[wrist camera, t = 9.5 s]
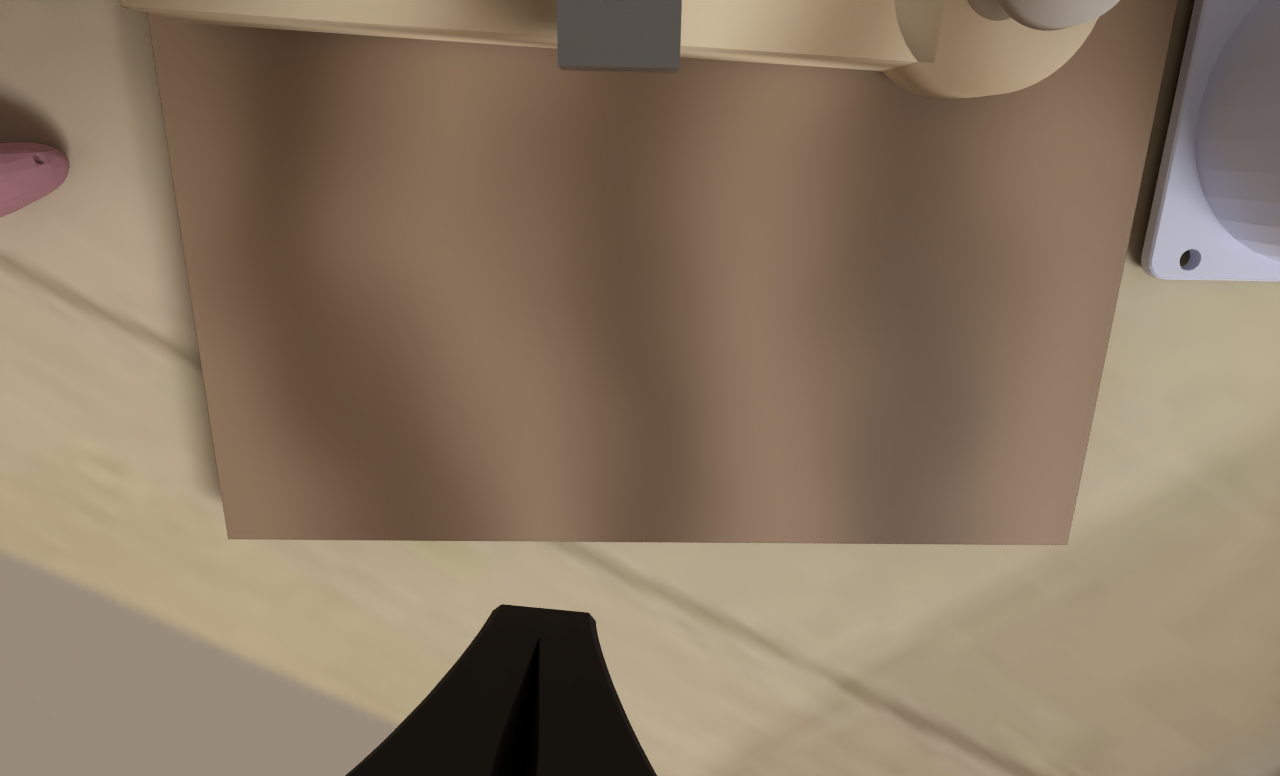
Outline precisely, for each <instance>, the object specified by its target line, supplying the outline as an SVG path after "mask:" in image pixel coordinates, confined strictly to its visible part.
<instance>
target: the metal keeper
mask: <svg viewBox="0 0 1280 776" xmlns="http://www.w3.org/2000/svg"><path fill="white" fill-rule="evenodd" d="M681 13H682V0H557V51H558V67H559V68H560V69H561V70H562V71H607V72H653V73H676V72H677V71H678V70H679V69H680V44H681Z"/></svg>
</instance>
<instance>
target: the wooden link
mask: <svg viewBox="0 0 1280 776" xmlns="http://www.w3.org/2000/svg"><path fill="white" fill-rule="evenodd" d="M1119 1H1120V0H682V13H681V44H680V57H685V58H700V59H714V60H728V61H743V62H757V63H772V64H786V65H800V66H815V67H829V68H844V69H858V70H873V71H882V72H883V73H884V74H885V75H886V76H887V77H888V78H889V79H890V80H891V81H892V82H893V83H894V84H896V85H897V86H899V87H900V88H902V89H904V90H905V91H907V92H910V93H912V94H914V95H917V96H920V97H924V98H928V99H935V100H954V99H963V98H972V97H981V96H990V95H998V94H1005V93H1011V92H1014V91H1018V90H1021V89H1024V88H1026V87H1029V86H1031V85H1033V84H1036V83H1038V82H1039V81H1041V80H1043V79H1045V78H1046V77H1048V76H1050V75H1051V74H1052V73H1054V72H1055V71H1056V70H1058V69H1059V68H1060V67H1061V66H1063V65H1064V64H1065V63H1066V62H1067V61H1068V60H1069V59H1070V58H1071V57H1072V56H1073V55H1074V54H1075V53H1076V51H1077V50H1078V49H1079V48H1080V47H1081V45H1082V44H1083V43H1084V41H1085V40H1086V38H1087V37H1088V35H1089V34H1090V32H1091V31H1092V29H1093V27H1094V25H1095V23H1096V21H1097V20H1098V18H1099V17H1100V16H1101V15H1103V14H1105V13H1106V12H1107V11H1109V10H1110V9H1111V8H1113V7H1114V6H1115V5H1116V4H1117V3H1118V2H1119ZM120 6H122V7H126V8H129V9H133V10H137V11H141V12H145V13H149V14H153V15H156V16H160V17H164V18H168V19H172V20H176V21H180V22H183V23H195V24H209V25H224V26H238V27H253V28H267V29H281V30H296V31H310V32H325V33H339V34H354V35H368V36H382V37H397V38H411V39H426V40H440V41H454V42H469V43H483V44H498V45H512V46H527V47H541V48H555V49H557V0H120Z"/></svg>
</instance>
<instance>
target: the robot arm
mask: <svg viewBox="0 0 1280 776" xmlns="http://www.w3.org/2000/svg"><path fill="white" fill-rule="evenodd" d="M1187 250H1189V252H1190V259H1189V261H1188V263H1187V264H1186V265H1184V266H1183V267H1181V266H1180V258H1181V256H1182V254H1183V253H1184V252H1185V251H1187ZM1141 266H1142V268H1143V270H1144V272H1145V273H1147V274H1148V275H1149V276H1152V277H1156V278H1160V279H1165V280H1228V281H1280V0H1195V2H1194V7H1193V12H1192V17H1191V21H1190V26H1189V31H1188V36H1187V41H1186V45H1185V50H1184V55H1183V60H1182V65H1181V69H1180V74H1179V79H1178V84H1177V89H1176V93H1175V98H1174V103H1173V108H1172V112H1171V117H1170V122H1169V127H1168V132H1167V136H1166V141H1165V146H1164V151H1163V156H1162V160H1161V165H1160V170H1159V175H1158V180H1157V184H1156V189H1155V194H1154V199H1153V203H1152V208H1151V213H1150V218H1149V223H1148V227H1147V232H1146V237H1145V242H1144V247H1143V251H1142V256H1141ZM346 776H657V775H656V773H655V771H654V769H653V768H652V766H651V764H650V762H649V760H648V758H647V756H646V754H645V752H644V751H643V749H642V747H641V745H640V743H639V741H638V739H637V737H636V735H635V733H634V731H633V729H632V727H631V724H630V722H629V720H628V718H627V716H626V713H625V711H624V709H623V706H622V704H621V702H620V699H619V697H618V695H617V692H616V690H615V688H614V685H613V682H612V680H611V677H610V674H609V672H608V669H607V666H606V663H605V660H604V657H603V653H602V650H601V647H600V643H599V639H598V634H597V629H596V621H595V620H594V619H593V617H592V616H591V615H590V614H589V613H585V612H575V611H564V610H554V609H544V608H533V607H523V606H513V605H500V606H499V607H497V608H496V609H495V610H493V611H492V613H491V615H490V616H489V618H488V620H487V621H486V623H485V624H484V626H483V627H482V629H481V630H480V632H479V633H478V634H477V636H476V637H475V639H474V640H473V641H472V643H471V644H470V645H469V647H468V648H467V649H466V650H465V652H464V653H463V654H462V656H461V657H460V658H459V659H458V661H457V662H456V663H455V664H454V665H453V667H452V668H451V669H450V670H449V671H448V672H447V674H446V675H445V676H444V677H443V678H442V680H441V681H440V682H439V683H438V684H437V685H436V687H435V688H434V689H433V690H432V691H431V692H430V694H429V695H428V696H427V697H426V698H425V699H424V700H423V701H422V702H421V703H420V704H419V705H418V706H417V707H416V708H415V709H414V711H413V712H412V713H411V714H410V715H409V716H408V717H407V718H406V719H405V720H404V721H403V722H402V723H401V724H400V725H399V726H398V727H397V728H396V729H395V730H394V731H393V732H392V733H391V734H390V735H389V736H388V737H387V738H386V739H385V740H384V741H383V742H382V743H381V744H380V745H379V746H378V747H377V748H376V749H375V750H373V751H372V752H371V754H369V755H368V756H367V757H366V758H365V759H364V760H363V761H362V762H360V763H359V764H358V765H357V766H356V767H355V768H354V769H353V770H351V771H350V772H349V773H348V774H347V775H346Z"/></svg>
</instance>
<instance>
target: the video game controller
mask: <svg viewBox="0 0 1280 776" xmlns="http://www.w3.org/2000/svg"><path fill="white" fill-rule="evenodd" d="M68 171H69V161H68V159H67V157H66V155H65V153H64V152H62V151H61V150H59V149H57V148H54V147H51V146H47V145H44V144H38V143H30V142H11V143H0V217H3V216H5V215H7V214H10V213H12V212H15V211H17V210H19V209H21V208H23V207H24V206H26V205H28V204H30V203H32V202H34V201H36V200H38V199H40V198H42V197H44V196H46V195H47V194H49V193H51V192H52V191H54V190H55V189H57V188H58V187H59V186H60V185H61V184H62V183H63V182H64V180H65V178H66V177H67V174H68Z"/></svg>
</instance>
